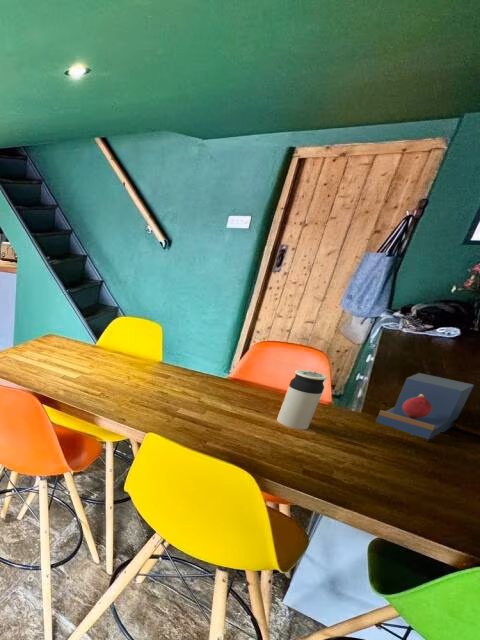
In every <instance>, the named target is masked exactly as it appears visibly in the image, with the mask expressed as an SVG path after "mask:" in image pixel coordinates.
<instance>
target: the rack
mask: <svg viewBox="0 0 480 640" xmlns="http://www.w3.org/2000/svg"><path fill="white" fill-rule="evenodd" d="M474 386H475V384H473V383H467V382H463V381H459V380H453V379H450V378H444V377H440V376H436V375H435V376H434V375H430V374H426V373H421V372H418V373H416V374H413V375H411V376H408V377H406V379H405V381H404V383H403V386H402V388H401V390H400V393H399V396H398V398H397V400H396V402H395V405H394V406H393V407H391V408H389V409H387V410H383V409H380V410H379V412H378V415H377V416H376V419H375V422H378V423H381V424H383V425H387V426H390V427H393V428H396V429H398V430H401V431H403V432H407V433H409V434H411V435H415V436H419V437H423V438H426V439H430V438H431V437H433V436H434V435H436V434H437V433H440V432H443V433H444V432H446V431H448V430H450V429H451V428H453V427H454V426H455V424H456V422H454V421H456V420H458V418H459V416H460V415H461V413H462V410H463V408H464V406H465V404H466V402H467V400H468V399H469V397H470V394H471V393H472V390H473V388H474ZM419 394H422V395H423V396H424V397H425V398H426V399H427V400H428V401H429V403H430V404H431V411H430V412H429V413H428V414H427V415H426V416H424V417H420V418H413V419H411V418H408V416H407V415H406V414H405V412H404V411H403V409H402V405H403V403H404V402H405V401H406V400H408V399H410V398H413V397H418V396H419Z"/></svg>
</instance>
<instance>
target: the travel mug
mask: <svg viewBox="0 0 480 640" xmlns="http://www.w3.org/2000/svg"><path fill="white" fill-rule="evenodd" d="M294 373H295V376H294V377H293V378H292V379H291V380H290V382H289V385H288V387H287V390H286V392H285V395H284V398H283V401H282V404H281V407H280V410H279V412H278V416H277V418H276V422H278V423H279V424H281V425H282V426H284V427H288V428H291V429H295V430H307V429H309V427H310V424H311V422H312V419H313V416H314V415H315V411H316V410H317V407H318V404H319V401H320V399H321V397H322V395H323V392H324V389H325V385H324V382H325V380H327V379H328V376H327V375H325V374H323V373H321V372H317V371H314V370H308V369H297V370H295V371H294Z"/></svg>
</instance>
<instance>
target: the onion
mask: <svg viewBox="0 0 480 640" xmlns="http://www.w3.org/2000/svg"><path fill="white" fill-rule="evenodd" d="M402 409H403V411H404V412H405V414H406V415H407V416H408V418H411V419H413V418H420V417H424V416H426V415H427V414H428V413H429V412H430V411H431V404H430V403H429V401H428V400H427V399H426V398H425V397H424V396H423V395H422V394H419V396H418V397H413V398H410V399H408V400H406V401H405V402H404V403H403V405H402Z"/></svg>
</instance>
